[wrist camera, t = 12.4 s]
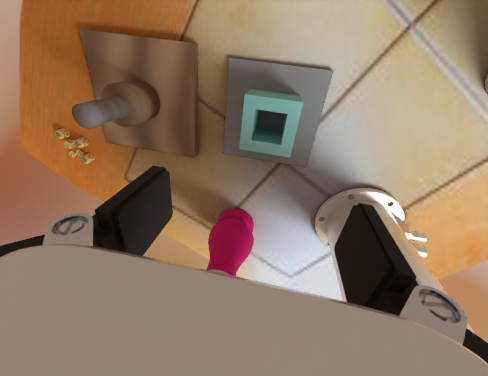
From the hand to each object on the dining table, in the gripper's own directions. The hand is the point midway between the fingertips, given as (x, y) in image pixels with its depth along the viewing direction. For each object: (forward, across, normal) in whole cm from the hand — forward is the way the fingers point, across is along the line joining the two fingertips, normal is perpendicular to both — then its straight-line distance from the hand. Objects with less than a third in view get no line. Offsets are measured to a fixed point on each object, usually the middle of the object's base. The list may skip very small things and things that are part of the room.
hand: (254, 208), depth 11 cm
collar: (+20, 0, 0) cm, 20 cm away
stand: (+20, +18, 0) cm, 27 cm away
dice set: (+21, +31, +9) cm, 38 cm away
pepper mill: (+20, +4, +19) cm, 28 cm away
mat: (+20, 0, 0) cm, 20 cm away
